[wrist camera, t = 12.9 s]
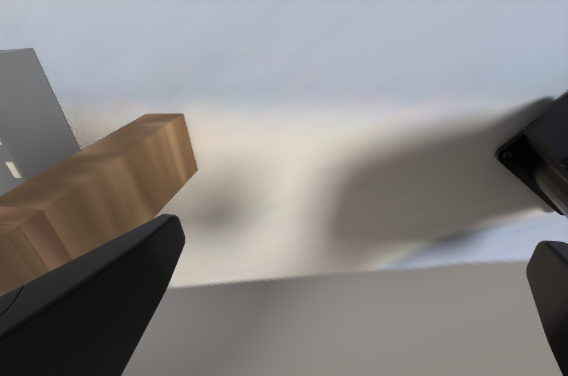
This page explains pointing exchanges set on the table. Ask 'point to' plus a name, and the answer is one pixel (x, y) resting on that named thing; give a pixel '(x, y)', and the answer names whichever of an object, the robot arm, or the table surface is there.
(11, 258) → the panel
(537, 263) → the robot arm
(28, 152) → the gray block
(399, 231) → the table surface
